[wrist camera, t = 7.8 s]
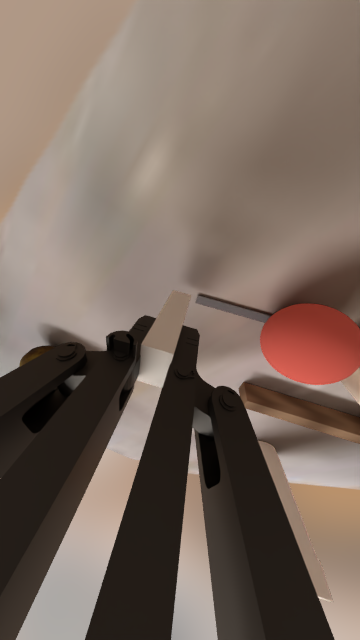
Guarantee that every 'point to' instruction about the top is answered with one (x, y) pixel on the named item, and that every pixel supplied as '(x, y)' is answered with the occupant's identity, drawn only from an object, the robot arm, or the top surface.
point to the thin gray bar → (232, 309)
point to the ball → (311, 344)
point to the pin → (353, 384)
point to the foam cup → (296, 521)
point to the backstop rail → (301, 412)
